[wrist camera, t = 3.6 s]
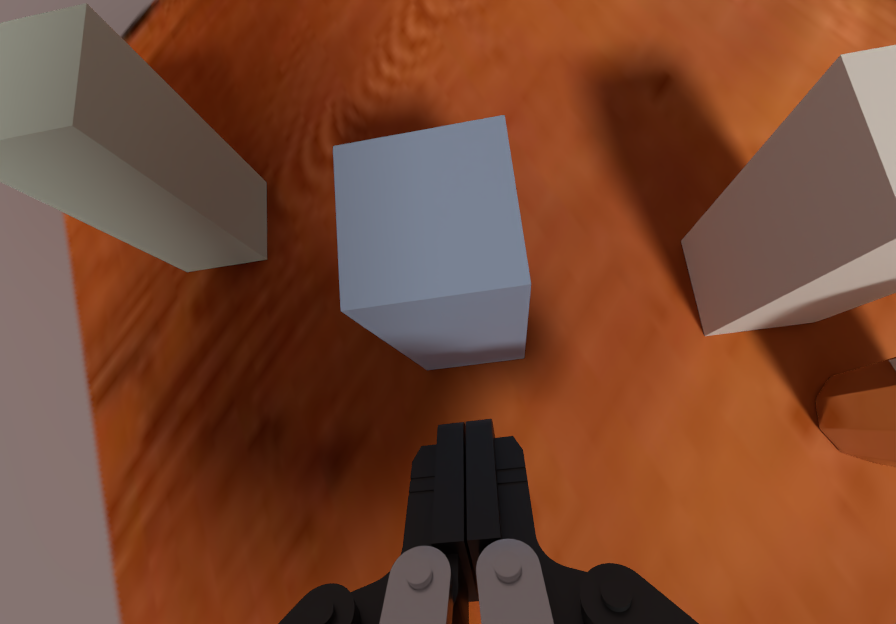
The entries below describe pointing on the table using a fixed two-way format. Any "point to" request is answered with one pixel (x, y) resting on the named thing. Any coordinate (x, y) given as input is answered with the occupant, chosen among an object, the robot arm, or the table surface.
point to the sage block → (121, 145)
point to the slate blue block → (434, 243)
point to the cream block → (807, 210)
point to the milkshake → (861, 412)
